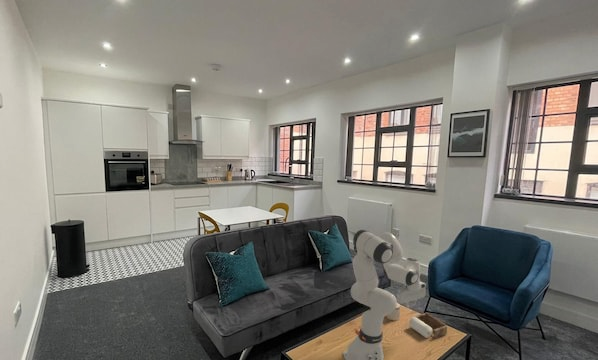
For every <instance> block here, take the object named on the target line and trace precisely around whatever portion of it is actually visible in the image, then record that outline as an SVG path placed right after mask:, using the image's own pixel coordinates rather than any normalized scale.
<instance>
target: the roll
mask: <svg viewBox="0 0 598 360" xmlns="http://www.w3.org/2000/svg"><path fill="white" fill-rule="evenodd" d="M408 325H409V327H410V328H411V329H413V330H414V331H416V332H417V333H418V334H419V335H421V336H422V337H424V338H425V339H428V338H431V337H432V336H431V335H433V333H434V329H433V328H432V326H431V325H429V324H428V323H427V324H426V322H422V321H421V320H419V319H418V318H416V317H414V316H412V317H411V318H410V320H409V321H408Z"/></svg>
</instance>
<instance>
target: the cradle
mask: <svg viewBox="0 0 598 360" xmlns="http://www.w3.org/2000/svg"><path fill="white" fill-rule="evenodd" d="M413 317H416V318H418V319H419V320H421V321H422V322H424V323H427V325H429V326H430V327H433V328H434V329H433V334H432V335H431V336H430V337H432V338H434V339H437V338H441V337H444V336H446V335H447V334H448V326H447V325H446V323H444V322H443V321H441V320H439V319H438V318H437V317H435V316H433V315H431V314H430V313H429V312H423V313H421V314H418V315H415V316H413ZM440 336H441V337H440Z"/></svg>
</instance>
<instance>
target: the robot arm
mask: <svg viewBox="0 0 598 360" xmlns="http://www.w3.org/2000/svg"><path fill="white" fill-rule="evenodd" d="M352 243H353V250H354V252H355V253H356V255H355V256H354V257H353V259H352V268H353V273H354V276H355V279H356V280H355V283H353V284H352V285H351V288H350V296H351V298H352V299H353V300H354V301H356V302H358V303H360V304H362V305H364V306H367V307H369V308H370V309H371V310H370V309H369V310H366V311H364V312H363V314H362V315H361V326H360V329H359V330H358V329H355V331H354V333H355V334H356V335H357V336H356V337H355V338H354V339H352V341H351V342H349V344H348V347H347V349H345V350H344V351H343V353H342V355H343V358H344V359H345V360H384V358H385V355H384V349H383V342H382V341H383V323H384V318H385V317H386V315H387V314H390V313H392V312H393V311H394V310H395V309H396V306H397V303H399V304H400V305H401V304H405V307H406V309H410V308H411V307H410V305H411V306H412V307H415V306H416V303H417V302H418V300H419V299H423V298H425V296H426V293H427V292H426V290H427V289H426V286H427V283H425V282H423V281H421V279H420V276H421V262H420V261H419V260H418V259H416V258H412V257H408V258H407V257H406V260H405V264H404V265H405V266H404V265H403V266H402V265H400V264H398V263H399V262H400V261H402V259H403V256H404V249H403V248H402V245H401V243H400V242H399V240H398V239H397V237H396V236H395V235H394V234H393V233H391V232H387V231H385V232H382V233H380V234H379V235H376V234H374V233H372V232H370V231H368V230H365V229H359V230H358V231H357V232H355V234H354V236H353V239H352ZM375 262H376V263H378V264H381V266H382V269H383V276H384V277H385V278H386V279H387V280H391V281H394V282H397V283H398V284H402V285H403V286H401V287H400V288H399V289H398V290H397V294H396V296H395V295H394V294H393V293H391V292H390V291H388V290H386V289H383V288H380V287H378V285H379V281H380V280H379V276H378V274H377V269H376V266H375V264H374V263H375ZM410 302H411V303H410ZM409 303H410V304H409Z"/></svg>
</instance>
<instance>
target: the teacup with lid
mask: <svg viewBox="0 0 598 360" xmlns="http://www.w3.org/2000/svg"><path fill="white" fill-rule="evenodd" d="M400 311H401V303H399V302H397V306H396V309H395V310H394V311H393V312H392V313H390V314H387V315H386V316H385V317H386V318H387V319H388V320H390V321H399V320H400V313H401V312H400Z"/></svg>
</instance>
